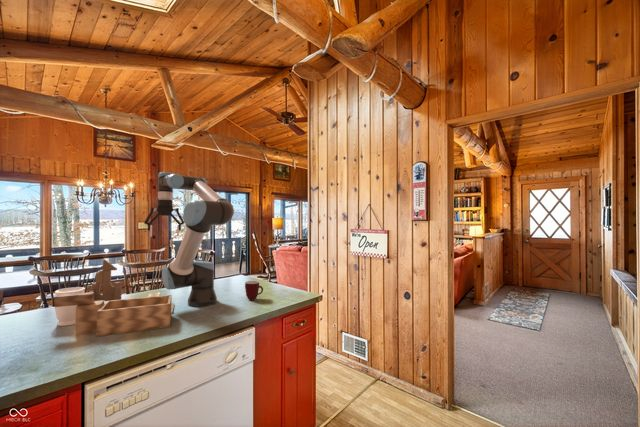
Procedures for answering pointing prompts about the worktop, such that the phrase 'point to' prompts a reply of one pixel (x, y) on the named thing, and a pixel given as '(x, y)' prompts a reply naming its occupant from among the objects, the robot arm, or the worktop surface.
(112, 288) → the wooden toy
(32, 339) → the worktop surface
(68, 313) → the jar
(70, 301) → the wooden block
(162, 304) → the toolbox
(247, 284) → the mug
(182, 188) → the robot arm
